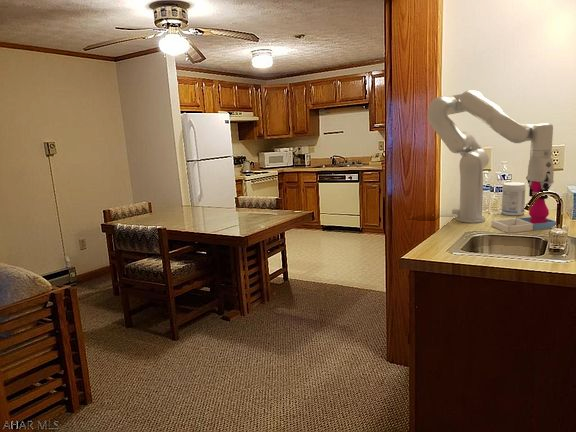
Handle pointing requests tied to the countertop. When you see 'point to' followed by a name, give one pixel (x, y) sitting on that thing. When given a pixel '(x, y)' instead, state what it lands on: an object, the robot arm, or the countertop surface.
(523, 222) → the frame
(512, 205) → the supplement tub
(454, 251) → the countertop surface
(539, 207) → the pepper mill
